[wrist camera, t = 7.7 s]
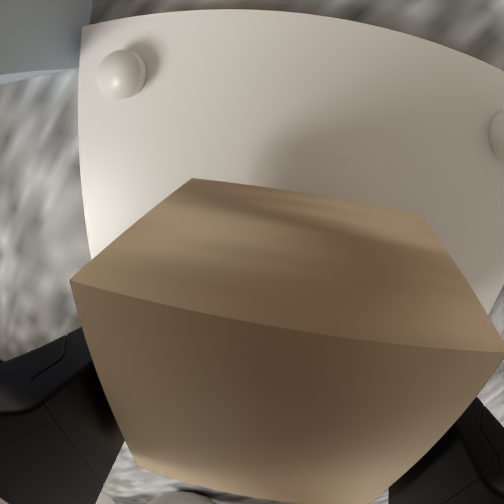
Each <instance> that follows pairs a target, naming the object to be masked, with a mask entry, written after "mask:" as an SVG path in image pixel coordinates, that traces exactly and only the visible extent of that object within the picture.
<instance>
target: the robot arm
mask: <svg viewBox="0 0 504 504" xmlns="http://www.w3.org/2000/svg"><path fill="white" fill-rule="evenodd" d="M124 441H125V439H124V437H123V435H122V433H121V430H120V428H119V426H118V424H117V421H116V419H115V417H114V415H113V412H112V410H111V407H110V405H109V403H108V400H107V398H106V395H105V393H104V390H103V387H102V385H101V382H100V380H99V377H98V374H97V371H96V369H95V366H94V363H93V360H92V357H91V354H90V351H89V348H88V345H87V342H86V339H85V335H84V332H83V329H82V327H80V328H78V329H76V330H74V331H72V332H70V333H68V334H67V336H66V335H64V336H62V337H60V338H58V339H56V340H54V341H52V342H50V343H48V344H46V345H44V346H42V347H40V348H37V349H35V350H33V351H30V352H28V353H25V354H23V355H21V356H18V357H16V358H13V359H10V360H8V361H5V362H3V363H0V504H95V503H96V501H97V499H98V496H99V494H100V492H101V490H102V488H103V484H104V483H105V481H106V479H107V477H108V475H109V472H110V470H111V468H112V466H113V464H114V462H115V460H116V458H117V456H118V454H119V452H120V449H121V447H122V445H123V443H124ZM388 504H504V427H503V426H502V425H501V424H500V423H499V421H498V420H497V419H496V418H495V417H494V416H493V415H492V414H491V412H490V411H489V410H488V409H487V408H486V407H485V406H483V403H482V402H481V401H480V400H479V399H478V398H477V396H476V398H475V399H474V400H473V401H472V403H471V404H470V405H469V406H468V408H467V409H466V410H465V411H464V412H463V414H462V415H461V416H460V417H459V418H458V419H457V421H456V422H455V423H454V424H453V425H452V426H451V427H450V428H449V430H448V431H447V432H446V433H445V434H444V435H443V436H442V437H441V438H440V439H439V440H438V441H437V443H436V444H435V445H434V446H433V447H432V448H431V449H430V450H429V451H428V452H427V453H426V454H425V455H424V456H423V457H422V458H421V459H420V460H419V461H417V462H416V463H415V464H414V465H413V466H412V467H411V468H410V469H409V470H408V471H407V472H406V473H405V474H403V475H402V476H401V477H400V478H399V479H398V480H397V481H396V482H394V483H393V484H392V485H391V486H390V487H389V502H388Z"/></svg>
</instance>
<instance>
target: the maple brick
mask: <svg viewBox="0 0 504 504" xmlns="http://www.w3.org/2000/svg"><path fill="white" fill-rule="evenodd" d="M70 284H71V288H72V293H73V296H74V300H75V304H76V308H77V312H78V315H79V319H80V322H81V326H82V329H83V332H84V335H85V339H86V342H87V345H88V348H89V351H90V354H91V357H92V360H93V363H94V366H95V369H96V371H97V374H98V377H99V380H100V382H101V385H102V387H103V390H104V393H105V395H106V398H107V400H108V403H109V405H110V407H111V410H112V412H113V415H114V417H115V419H116V421H117V424H118V426H119V428H120V430H121V433H122V435H123V437H124V439H125V441H126V443H127V445H128V447H129V450H130V452H131V454H132V456H133V458H134V460H135V462H136V463H137V465H138V467H140V468H142V469H145V470H148V471H151V472H154V473H157V474H160V475H163V476H166V477H169V478H173V479H176V480H179V481H183V482H186V483H190V484H194V485H197V486H201V487H205V488H209V489H213V490H218V491H222V492H227V493H232V494H236V495H242V496H247V497H253V498H259V499H265V500H272V501H279V502H287V503H296V504H369V503H370V502H371V501H372V500H374V499H375V498H376V497H378V496H379V495H380V494H381V493H382V492H384V491H385V490H386V489H387V488H388V487H390V486H391V485H392V484H393V483H394V482H396V481H397V480H398V479H399V478H400V477H401V476H402V475H403V474H405V473H406V472H407V471H408V470H409V469H410V468H411V467H412V466H413V465H414V464H415V463H416V462H417V461H419V460H420V459H421V458H422V457H423V456H424V455H425V454H426V453H427V452H428V451H429V450H430V449H431V448H432V447H433V446H434V445H435V444H436V443H437V441H438V440H439V439H440V438H441V437H442V436H443V435H444V434H445V433H446V432H447V431H448V430H449V428H450V427H451V426H452V425H453V424H454V423H455V422H456V421H457V419H458V418H459V417H460V416H461V415H462V414H463V412H464V411H465V410H466V409H467V408H468V406H469V405H470V404H471V403H472V401H473V400H474V399H475V398H476V396H477V395H478V394H479V392H480V391H481V390H482V388H483V387H484V386H485V384H486V383H487V382H488V380H489V379H490V378H491V376H492V375H493V373H494V372H495V371H496V369H497V368H498V366H499V365H500V363H501V362H502V360H503V359H504V344H503V342H502V340H501V338H500V336H499V334H498V332H497V331H496V329H495V327H494V325H493V323H492V322H491V320H490V318H489V316H488V314H487V313H486V311H485V309H484V308H483V306H482V304H481V303H480V301H479V299H478V298H477V296H476V294H475V293H474V291H473V289H472V288H471V286H470V285H469V283H468V281H467V280H466V278H465V277H464V275H463V274H462V272H461V271H460V269H459V268H458V266H457V265H456V263H455V262H454V260H453V259H452V257H451V256H450V254H449V253H448V251H447V250H446V249H445V247H444V246H443V244H442V243H441V241H440V240H439V239H438V237H437V236H436V235H435V233H434V232H433V230H432V229H431V228H430V226H429V225H428V224H427V222H426V221H425V220H424V218H423V217H422V216H421V215H417V214H413V213H408V212H403V211H399V210H394V209H389V208H384V207H379V206H374V205H369V204H364V203H358V202H353V201H347V200H342V199H336V198H331V197H325V196H319V195H313V194H307V193H301V192H294V191H288V190H281V189H275V188H268V187H261V186H254V185H246V184H239V183H231V182H223V181H215V180H206V179H197V178H191V179H190V180H189V181H187V182H186V183H185V184H183V185H182V186H181V187H179V188H178V189H177V190H175V191H174V192H173V193H171V194H170V195H169V196H168V197H166V198H165V199H164V200H163V201H161V202H160V203H159V204H157V205H156V206H155V207H154V208H152V209H151V210H150V211H149V212H147V213H146V214H145V215H144V216H142V217H141V218H140V219H139V220H138V221H136V222H135V223H134V224H133V225H132V226H130V227H129V228H128V229H127V230H126V231H124V232H123V233H122V234H121V235H120V236H118V237H117V238H116V239H115V240H114V241H113V242H111V243H110V244H109V245H108V246H107V247H106V248H104V249H103V250H102V251H101V252H100V253H99V254H98V255H96V256H95V257H94V258H93V259H92V260H91V261H90V262H89V263H88V264H86V265H85V266H84V267H83V268H82V269H81V270H80V271H79V272H78V273H77V274H75V275H74V276H73V277H72V278H71V279H70Z"/></svg>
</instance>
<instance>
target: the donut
mask: <svg viewBox="0 0 504 504" xmlns="http://www.w3.org/2000/svg"><path fill="white" fill-rule="evenodd" d="M148 504H217V503H215V502H214V501H212V500H211V499H209V498H208V497H206V496H203V495H200V494H197V493H194V492H183V491H177V492H172V493H167V494H163V495H161V496H159V497H157V498H155V499H153V500H151V501H150V502H149V503H148Z"/></svg>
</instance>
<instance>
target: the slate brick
mask: <svg viewBox="0 0 504 504" xmlns="http://www.w3.org/2000/svg"><path fill="white" fill-rule="evenodd" d="M92 5H93V0H0V85H1V84H8V83H12V82H16V81H20V80H25V79H29V78H34V77H38V76H43V75H48V74H53V73H59V72H65V71H71V70H77V69H79V62H80V48H81V36H82V26H87V25H90V20H91V12H92Z"/></svg>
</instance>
